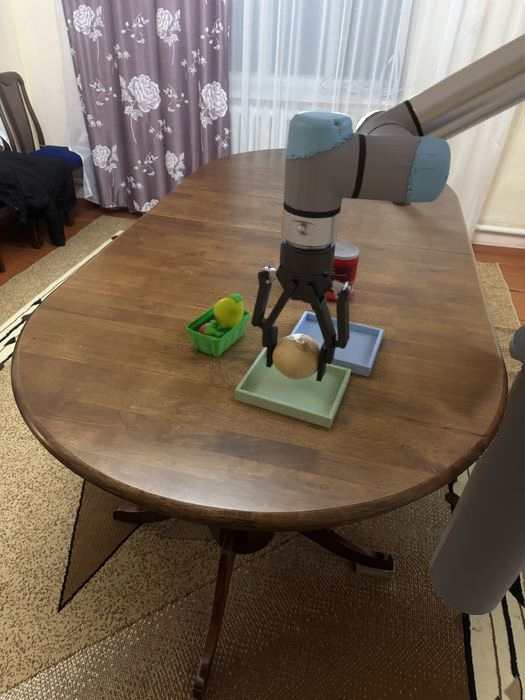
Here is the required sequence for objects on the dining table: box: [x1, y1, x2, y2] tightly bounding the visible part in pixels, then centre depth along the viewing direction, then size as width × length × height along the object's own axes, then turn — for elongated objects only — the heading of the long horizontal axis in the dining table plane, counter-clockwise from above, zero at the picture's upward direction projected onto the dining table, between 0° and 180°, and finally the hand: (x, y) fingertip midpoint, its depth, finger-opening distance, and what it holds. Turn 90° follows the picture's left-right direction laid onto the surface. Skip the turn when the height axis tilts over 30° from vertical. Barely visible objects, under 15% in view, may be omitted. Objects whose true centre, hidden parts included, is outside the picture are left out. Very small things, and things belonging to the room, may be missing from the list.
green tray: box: [234, 347, 352, 429], centre depth 79 cm, size 16×13×2 cm
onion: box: [273, 334, 320, 380], centre depth 75 cm, size 8×8×7 cm
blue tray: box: [289, 310, 385, 378], centre depth 89 cm, size 16×13×2 cm
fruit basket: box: [185, 293, 252, 358], centre depth 86 cm, size 11×9×11 cm
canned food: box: [325, 241, 360, 303], centre depth 103 cm, size 8×8×11 cm
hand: (295, 369), depth 77 cm, fingers closed on onion, 8 cm apart
